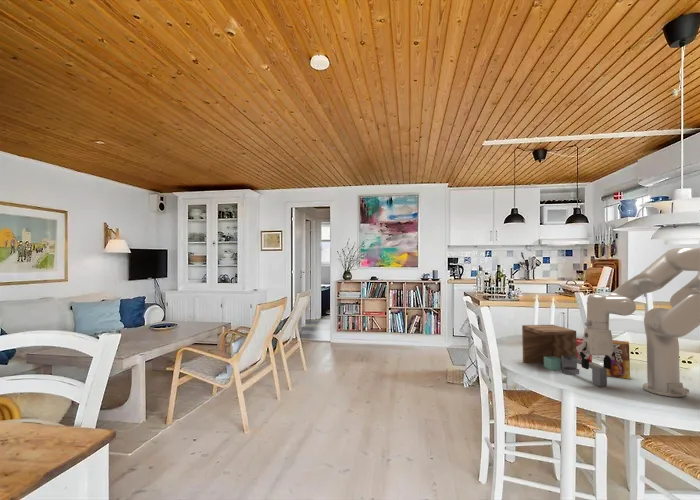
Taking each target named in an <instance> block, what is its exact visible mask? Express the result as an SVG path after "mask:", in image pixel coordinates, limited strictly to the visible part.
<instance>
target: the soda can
mask: <svg viewBox="0 0 700 500" xmlns="http://www.w3.org/2000/svg"><path fill="white" fill-rule="evenodd" d="M576 342H577V346H579V345H581V344H582V343H583V336H576ZM582 352H583V349H582ZM586 354H587V353H586ZM577 358H579V359H582V357H580V355H579V354H578V352H577ZM588 359H589V362H590V363H593V355H590V356H589V357H588Z"/></svg>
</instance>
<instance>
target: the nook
mask: <svg viewBox="0 0 700 500" xmlns="http://www.w3.org/2000/svg"><path fill="white" fill-rule="evenodd" d="M521 330H522V331H521V332H522V339H521V340H522V363H523V364H532V363H544V356H554V357H557V358H560V359H561V367H562V358H561V356H563V355H575V356H576V358H577V349H576V347H577V342H576V339H577V330H574V329H571V328H567V327H562V326H558V325H555V324H523V325H522V329H521ZM577 364H578V363H576V368H577V369H578V365H577Z"/></svg>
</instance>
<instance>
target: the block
mask: <svg viewBox="0 0 700 500" xmlns="http://www.w3.org/2000/svg"><path fill="white" fill-rule="evenodd" d="M543 368H545V369H548V370H550V371H562V366H561V359H560V358H557V357H554V356H544V362H543Z"/></svg>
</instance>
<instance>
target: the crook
mask: <svg viewBox="0 0 700 500" xmlns="http://www.w3.org/2000/svg"><path fill="white" fill-rule="evenodd" d="M561 358H562V366H561V374H564V375H567V376H568V375H580V369H578V367H577V368H576V363H577V364H578V365H581V364H582V359H579V358H576V356H575V355H563V356H561ZM589 369H591V374H592V375H591V376H592V378H591V381H592V385H593V386H596V387H598V388H608V376H607V368H605V367H603V366H602V365H598V364H595V363H594V362H591V363H590V362H589Z"/></svg>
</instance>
